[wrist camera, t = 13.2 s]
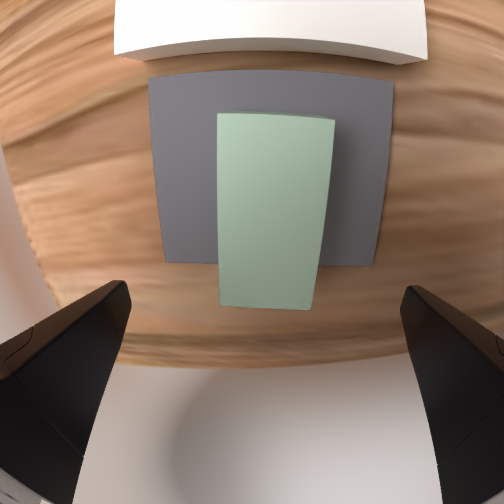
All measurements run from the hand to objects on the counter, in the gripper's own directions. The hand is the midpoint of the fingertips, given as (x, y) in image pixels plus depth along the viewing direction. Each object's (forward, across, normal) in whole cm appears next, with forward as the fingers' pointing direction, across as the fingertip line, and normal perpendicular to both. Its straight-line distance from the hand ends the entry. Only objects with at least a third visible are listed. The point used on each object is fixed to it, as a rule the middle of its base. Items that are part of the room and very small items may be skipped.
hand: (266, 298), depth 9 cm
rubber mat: (+7, 0, -2) cm, 7 cm away
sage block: (+6, 0, -1) cm, 6 cm away
